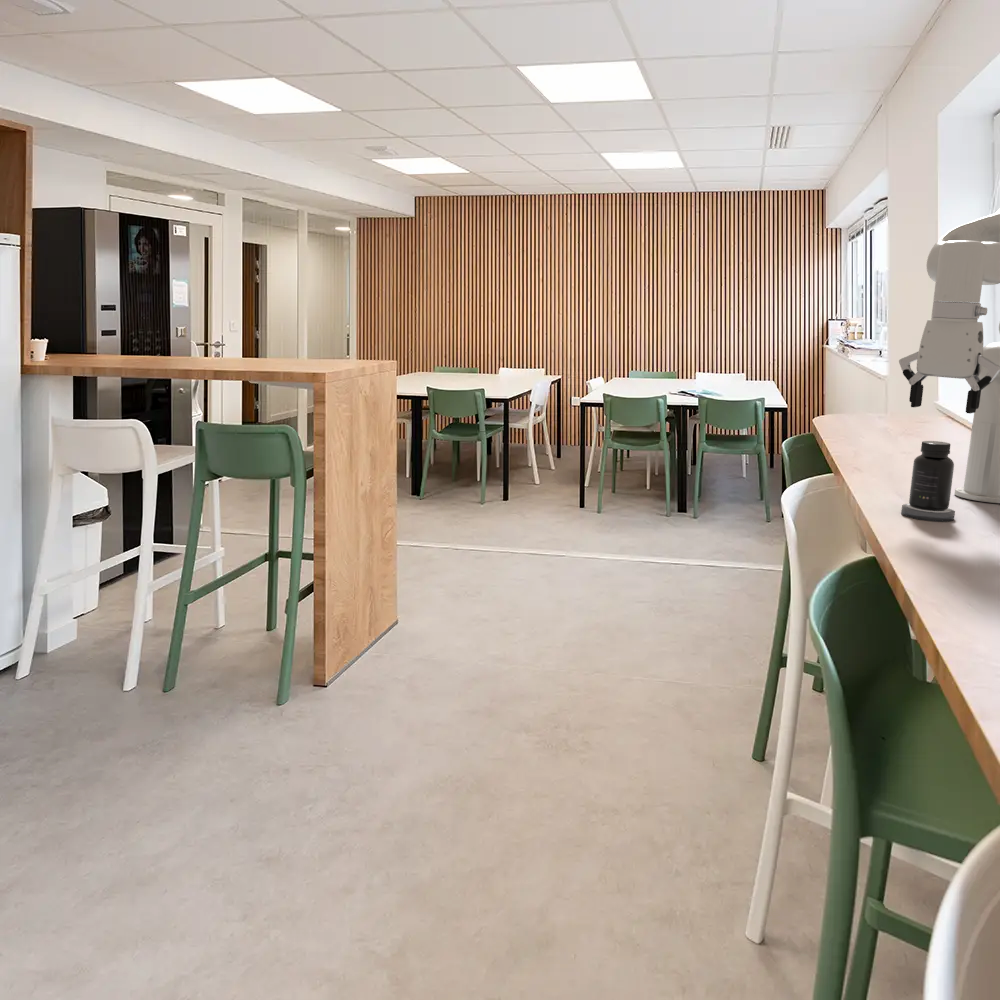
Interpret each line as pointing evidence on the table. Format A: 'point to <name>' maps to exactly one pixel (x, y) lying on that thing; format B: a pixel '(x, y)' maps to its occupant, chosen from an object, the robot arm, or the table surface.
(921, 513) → the plate
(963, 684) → the table surface
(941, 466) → the supplement bottle
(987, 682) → the table surface
